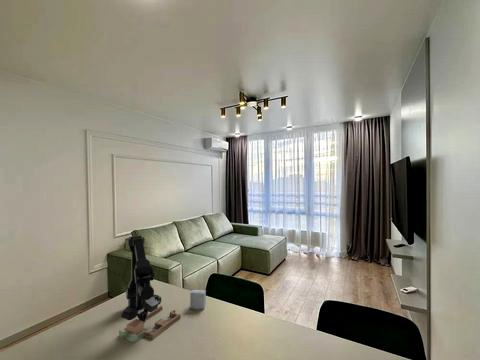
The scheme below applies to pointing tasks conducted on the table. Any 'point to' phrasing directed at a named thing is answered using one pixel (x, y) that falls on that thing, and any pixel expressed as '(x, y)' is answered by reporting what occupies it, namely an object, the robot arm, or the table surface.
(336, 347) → the table surface
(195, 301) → the medicine box
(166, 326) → the trap lane
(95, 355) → the table surface
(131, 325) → the block
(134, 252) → the robot arm
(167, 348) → the table surface
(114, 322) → the table surface
